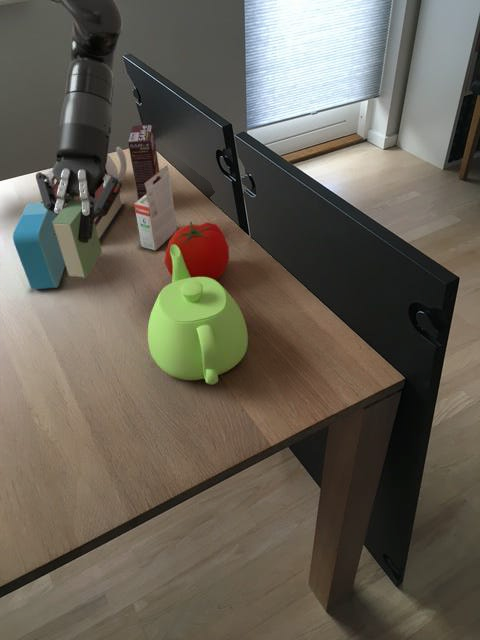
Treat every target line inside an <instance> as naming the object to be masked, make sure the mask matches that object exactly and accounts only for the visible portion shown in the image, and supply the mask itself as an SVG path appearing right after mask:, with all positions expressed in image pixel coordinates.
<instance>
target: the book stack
mask: <svg viewBox="0 0 480 640" xmlns="http://www.w3.org/2000/svg"><path fill="white" fill-rule="evenodd" d="M109 176H111V177H112V175H109ZM103 185H104V183H103V184H102V185H101V186H100V187H99V189H98V190H97V191H96V196H97V201H98V199H99V197H100V195H101V193H102V191H103V190H104V186H103ZM58 188H59V184H58V182H57V181H56V182H55V186H54V187H53V190H54V193H55V197H56V200H57V192H58ZM75 199H80V196H76V197H75ZM122 202H123V201H122V197H121V190H120V191H119V193H118V195H117V197H116V199H115V201H114V202H113V204H112V206H111V208H110V210H109V211H108V213H107V215H106V216H99V217H96V218H95V219H94V222H95V226H96V230H97V234H98V238H99V242H101V240H102V239H103V237H104V236H105V234H106V233H107V231H108V230H109V229H110V227H111V225H112V224H113V222H114V221H115V219H116V218H117V216H118V215H119V213H120V211H121V210H122V209H123V207H124V203H122ZM40 203H43V201H41V202H40Z"/></svg>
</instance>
